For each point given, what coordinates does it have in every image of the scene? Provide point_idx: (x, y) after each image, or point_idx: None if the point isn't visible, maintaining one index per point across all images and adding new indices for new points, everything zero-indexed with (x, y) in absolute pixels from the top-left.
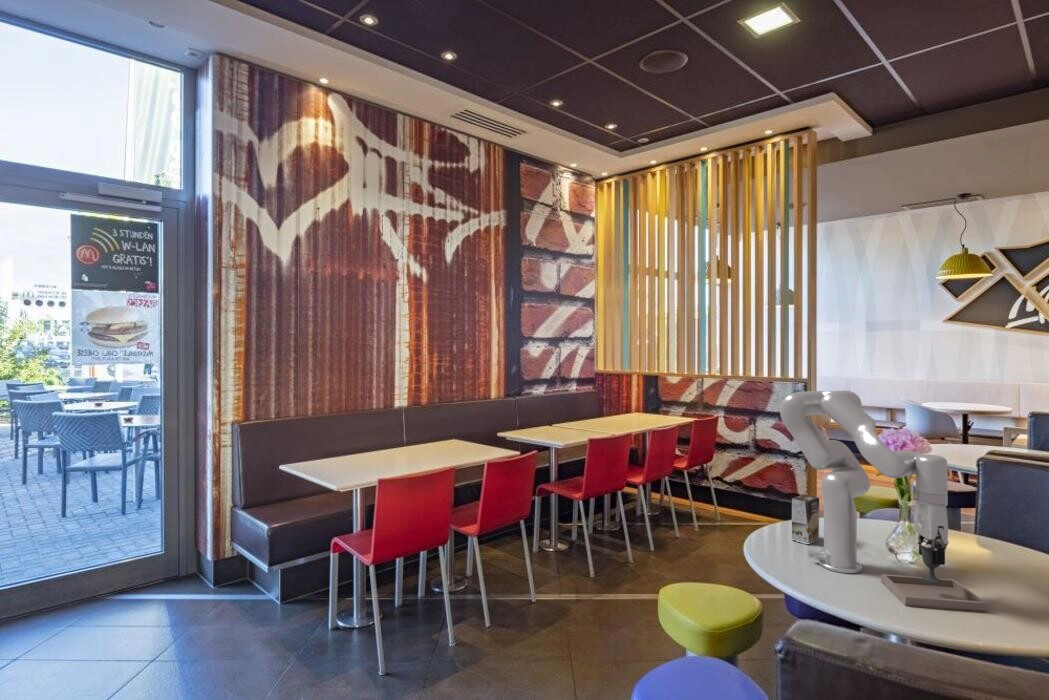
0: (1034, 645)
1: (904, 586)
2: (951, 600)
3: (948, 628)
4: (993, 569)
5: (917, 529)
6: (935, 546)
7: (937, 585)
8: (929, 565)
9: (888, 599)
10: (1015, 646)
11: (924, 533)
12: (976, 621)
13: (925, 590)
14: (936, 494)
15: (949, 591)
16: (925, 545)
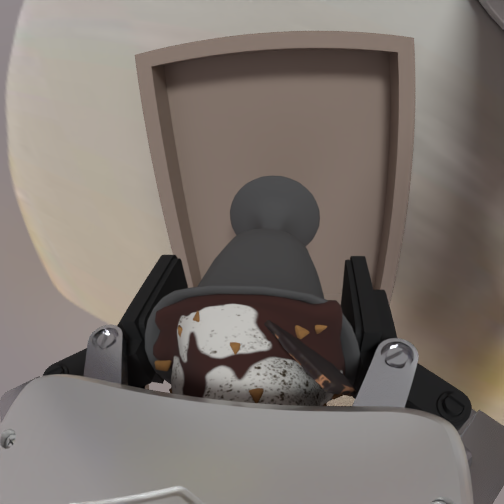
0: (64, 292)
1: (350, 112)
2: (167, 221)
3: (47, 147)
4: (470, 402)
5: (311, 457)
6: (88, 358)
7: (380, 252)
8: (229, 242)
9: (199, 4)
10: (40, 256)
11: (88, 426)
12: (121, 239)
13: (322, 184)
14: None
15: (329, 266)
16: (191, 324)
